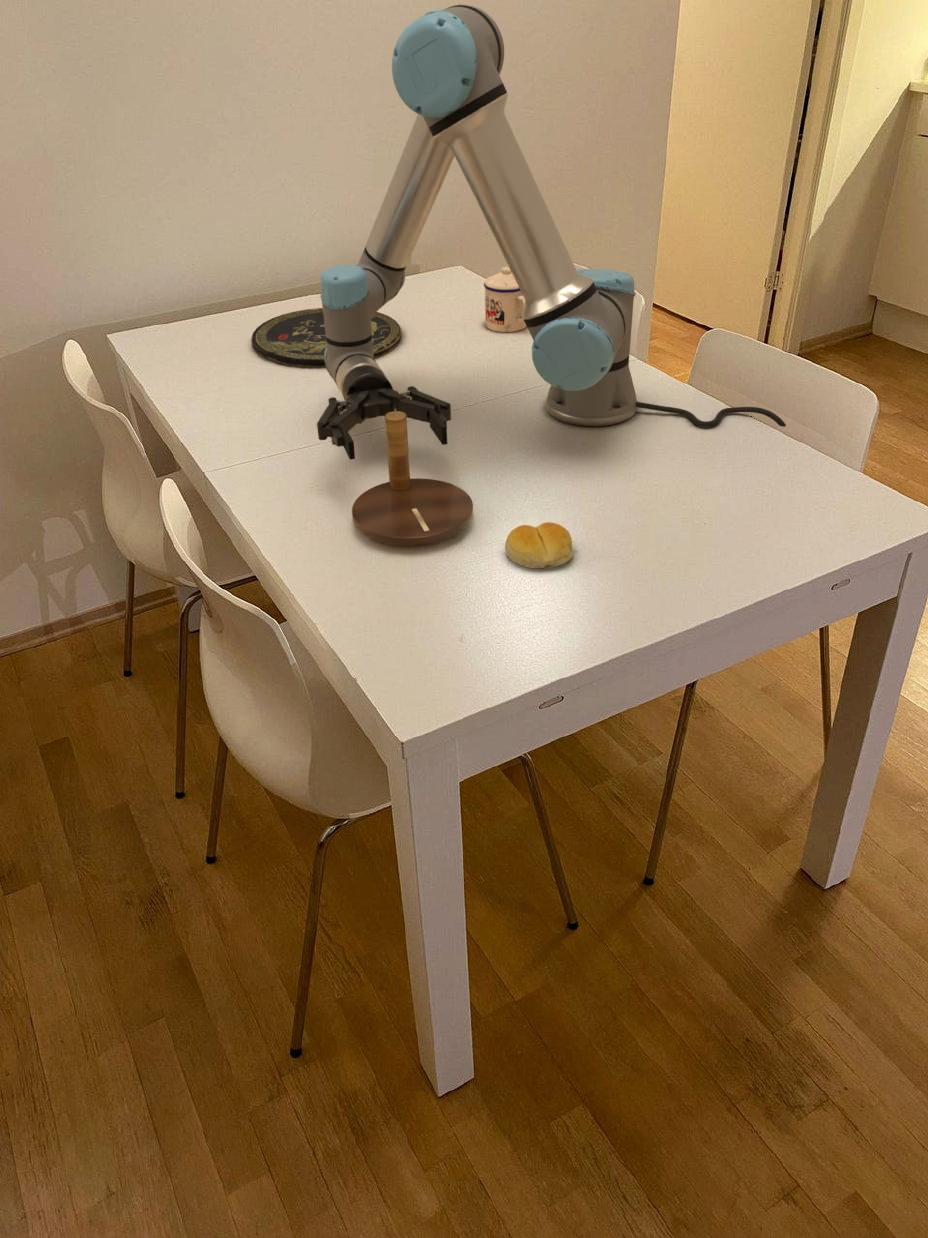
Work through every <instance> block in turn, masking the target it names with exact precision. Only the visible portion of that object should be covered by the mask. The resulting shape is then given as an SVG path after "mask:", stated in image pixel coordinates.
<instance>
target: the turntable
mask: <svg viewBox="0 0 928 1238" xmlns="http://www.w3.org/2000/svg"><path fill="white" fill-rule="evenodd" d="M407 419H408V418H407V417H406V414H405V413H404V412H400V411H396V410H395V411H394V412H389V413H387V414H386V415H385V416H384V426H385V438H386V451H387V464H388V465H387V466H388V475H389V476H388V479H389V481H387V482H384V483H381V484H377V485H374V486H372V487H370V488H369V489H367V490H365V491H364V492H362V493H361V494H360V495H359V496H358V497H357V498H356V499H355V501H354V502H353V505H352V507H351V516H352V522H353V525H354V527H355V528H356V530H358V531H359V532H360V534H362V535H363V536H365V537H367V538H368V539H371V540H374V541H377V542H380V543H384V544H388V545H395V546H401V545H418V546H424V545H423V544H426V545H430V544H434V543H439V542H441V541H444V540H447V539H449V538H452V537H455V536H456V535H458V534H459V533H461V532H462V531H463V530H465V529H466V528H467V527H468V526H469V525H470V523H471V521H472V520H473V516H474V503H473V499H472V498H471V496H470V495H469V493H468V492H467V491H465V490H464V489H462V488H461V487H459V486H457V485H456V484H453V483H449V482H447V481H443V480H439V479H433V478H432V479H431V478H422V477H421V478H419V477H418V478H417V477H416V478H414V477H413V478H411V470H410V469H411V467H410V456H409V455H410V454H409V436H408V420H407ZM429 543H430V544H429Z"/></svg>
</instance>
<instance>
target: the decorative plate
mask: <svg viewBox="0 0 928 1238" xmlns="http://www.w3.org/2000/svg"><path fill="white" fill-rule="evenodd" d="M371 329H372V344H373V356H374V359H376V358H378V357H381V356H384V355H385V354H388V353H389V352H391V351H392V350H394V349H395V348H396V347H398V345H399V344H400V342H401V340H402V337H403V336H402V329H401V326H400V324H399V323H398V322H397V320H395V319H394V318H393V317H391V316H389V315H387V314H385V313H382V312H379V311H377V312H376V313H375V314H373V315H372V316H371ZM250 342H251V346H252V348H253V350H254V352H256V353H257V354H258V355H259V356H260V357H262V358H264V359H265V360H269V361H271V362H274V363H277V364H280V365H281V364H282V365H286V366H292V367H294V366H295V367H302V368H326V363H325V360H324V352H325V349H326V347H327V345H326V332H325V324H324V315H323V307H315V308H306V309H302V310H301V309H300V310H295V311H291V312H288V313H283V314H281V315H278V316H275V317H272V318H270V319H268V320H266V321H265V322H262V323H260V325H259V326H257V327H256V329H255V330H254V331H253V332H252V335H251V341H250Z"/></svg>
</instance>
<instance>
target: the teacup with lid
mask: <svg viewBox="0 0 928 1238" xmlns="http://www.w3.org/2000/svg"><path fill="white" fill-rule="evenodd" d="M483 287H484V315H485V316H484V317H485V318H484V322H485V323H484V325H485V326H486V328H487V329H489V330H490V331H493V332H499V333H513V332H518V331H521V330H523V329H525V328H527V326H526V324H525V322H524V320H523V318H522V313H523V310H524V307H525V299H524V297H523V294H522V292H521V290H520V288H519V286H518V284H517V282H516V280H515V278H514V276H513V274H512V272H511V270H510V268H509V266H503V267H502V268H501V271H499V272H497V273H496V274H494V275H490V276H488V277H487V278H486V279H485V280H484V282H483Z"/></svg>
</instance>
